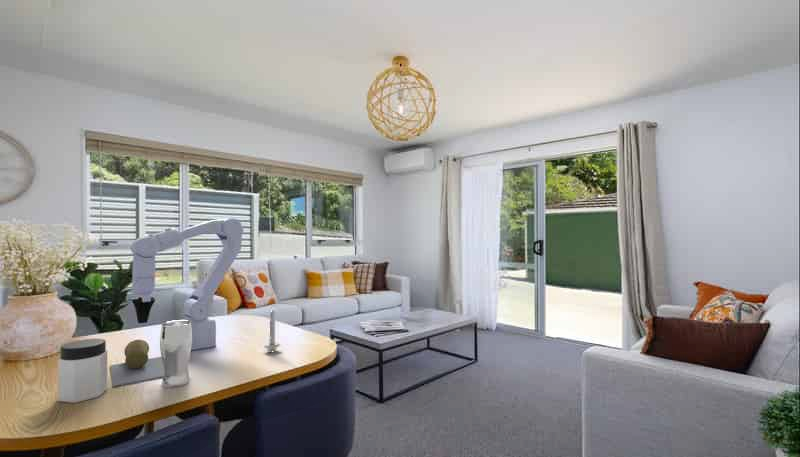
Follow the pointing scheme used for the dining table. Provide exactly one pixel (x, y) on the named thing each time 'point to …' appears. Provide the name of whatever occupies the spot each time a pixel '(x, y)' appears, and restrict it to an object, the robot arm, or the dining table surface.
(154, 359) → the mat
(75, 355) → the jar
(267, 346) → the screw
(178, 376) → the beer glass
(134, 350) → the cork
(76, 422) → the dining table surface
